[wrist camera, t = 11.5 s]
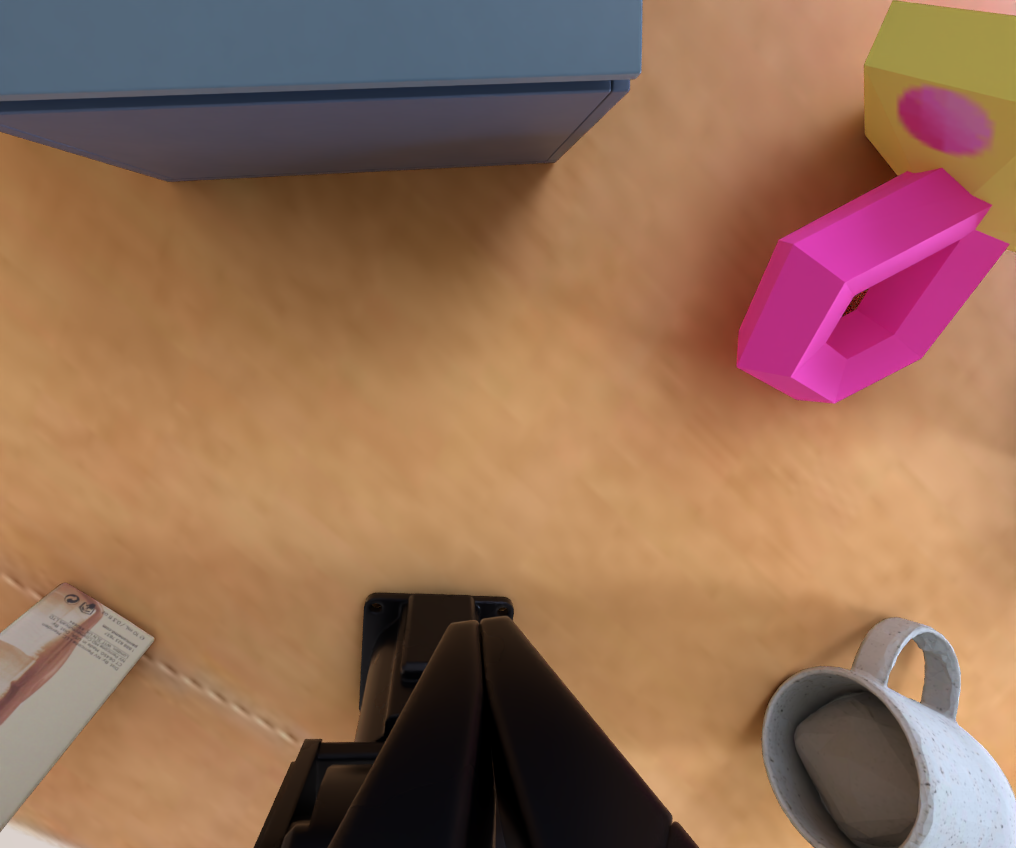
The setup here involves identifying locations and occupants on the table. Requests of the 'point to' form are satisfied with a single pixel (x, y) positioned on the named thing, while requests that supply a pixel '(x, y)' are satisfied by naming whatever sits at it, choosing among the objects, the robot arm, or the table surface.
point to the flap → (307, 45)
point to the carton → (319, 128)
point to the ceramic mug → (884, 754)
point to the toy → (899, 213)
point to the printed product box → (56, 683)
